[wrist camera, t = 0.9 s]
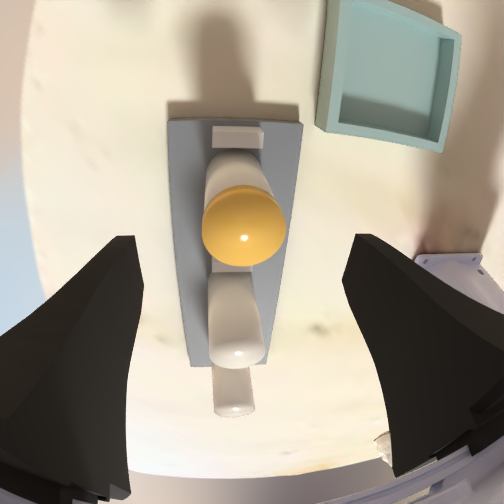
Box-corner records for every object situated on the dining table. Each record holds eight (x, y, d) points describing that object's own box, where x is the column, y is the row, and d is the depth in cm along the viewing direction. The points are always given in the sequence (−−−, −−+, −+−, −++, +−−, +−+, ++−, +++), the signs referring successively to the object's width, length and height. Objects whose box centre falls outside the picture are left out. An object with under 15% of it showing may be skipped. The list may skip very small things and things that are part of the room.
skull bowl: (381, 438, 52) (415, 467, 45) (407, 403, 61) (438, 429, 54) (360, 453, 58) (390, 479, 51) (387, 421, 67) (415, 445, 60)
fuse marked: (264, 147, 15) (291, 194, 10) (260, 200, 17) (280, 265, 12) (205, 146, 15) (200, 194, 10) (205, 200, 16) (203, 267, 12)
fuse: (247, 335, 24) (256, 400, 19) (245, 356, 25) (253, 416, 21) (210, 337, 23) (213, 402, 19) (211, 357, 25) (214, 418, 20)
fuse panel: (299, 121, 15) (311, 130, 13) (264, 357, 27) (268, 376, 25) (169, 118, 14) (163, 126, 12) (190, 359, 26) (190, 379, 25)
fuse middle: (253, 262, 19) (268, 335, 15) (250, 296, 21) (262, 367, 16) (207, 263, 19) (207, 337, 14) (208, 297, 21) (210, 369, 16)
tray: (443, 33, 12) (461, 34, 10) (426, 144, 16) (442, 153, 15) (328, -9, 11) (341, -15, 9) (314, 125, 15) (325, 132, 14)
